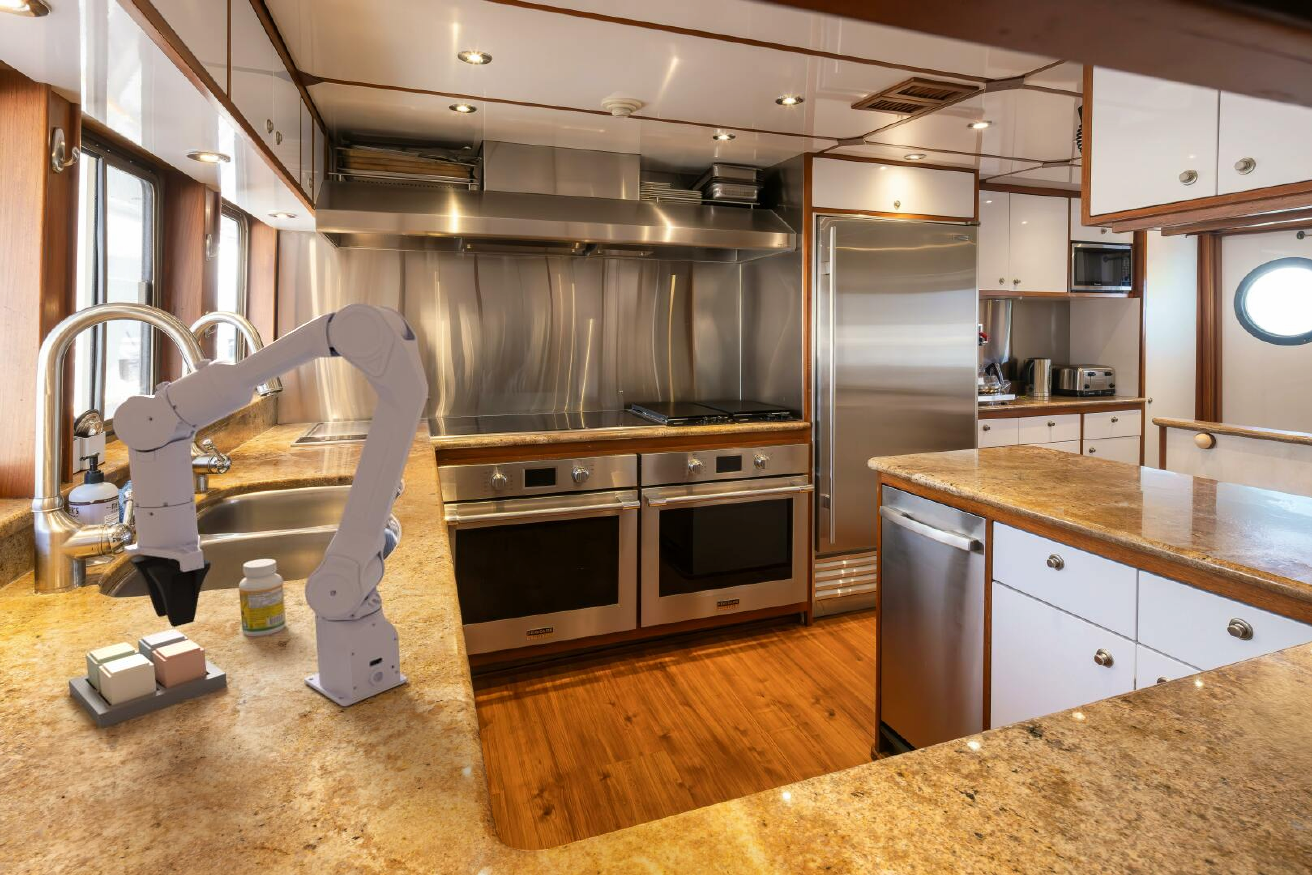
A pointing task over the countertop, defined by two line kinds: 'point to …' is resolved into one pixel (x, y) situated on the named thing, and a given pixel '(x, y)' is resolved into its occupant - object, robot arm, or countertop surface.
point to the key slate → (159, 642)
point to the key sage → (106, 659)
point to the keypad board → (142, 697)
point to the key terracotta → (179, 663)
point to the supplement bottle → (261, 598)
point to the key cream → (127, 679)
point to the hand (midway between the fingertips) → (175, 618)
